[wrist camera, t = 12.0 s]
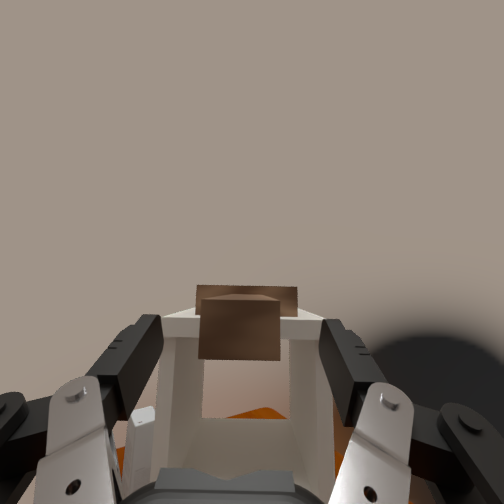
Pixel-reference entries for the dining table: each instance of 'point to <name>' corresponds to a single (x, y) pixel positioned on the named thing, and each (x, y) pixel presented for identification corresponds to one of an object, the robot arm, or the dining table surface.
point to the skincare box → (138, 450)
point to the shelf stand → (244, 430)
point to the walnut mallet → (242, 321)
